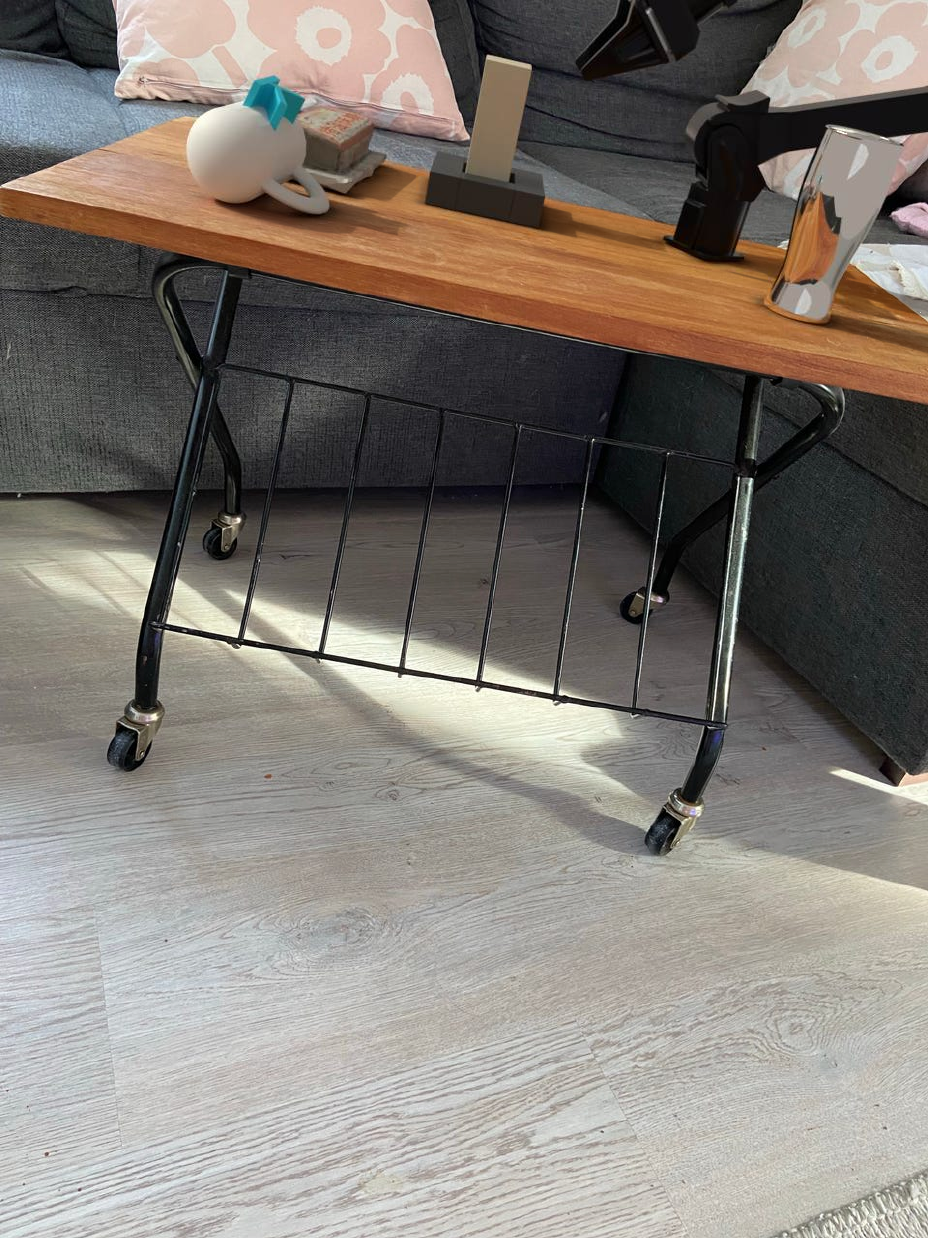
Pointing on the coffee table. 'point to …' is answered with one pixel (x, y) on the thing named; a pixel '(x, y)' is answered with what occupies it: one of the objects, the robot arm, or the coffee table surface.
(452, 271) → the coffee table surface
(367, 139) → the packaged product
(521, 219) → the pad base
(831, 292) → the beer glass
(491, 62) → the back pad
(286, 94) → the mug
